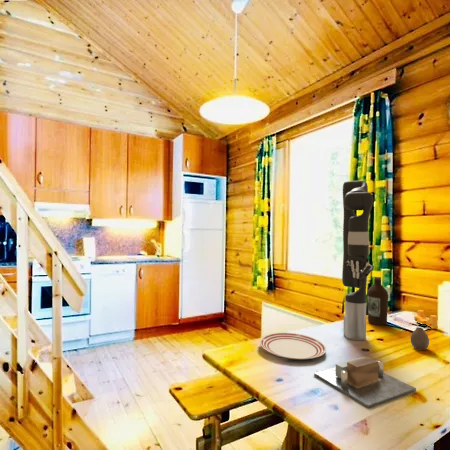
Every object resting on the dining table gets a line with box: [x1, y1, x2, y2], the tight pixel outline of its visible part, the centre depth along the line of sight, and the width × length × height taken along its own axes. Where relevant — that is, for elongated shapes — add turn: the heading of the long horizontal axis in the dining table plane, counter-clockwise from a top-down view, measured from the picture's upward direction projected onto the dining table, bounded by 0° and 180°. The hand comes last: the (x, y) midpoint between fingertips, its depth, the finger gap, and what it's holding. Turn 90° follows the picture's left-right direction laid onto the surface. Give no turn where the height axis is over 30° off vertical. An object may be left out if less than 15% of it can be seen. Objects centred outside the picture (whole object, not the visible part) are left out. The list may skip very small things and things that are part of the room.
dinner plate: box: [259, 332, 327, 361], centre depth 131 cm, size 27×27×3 cm
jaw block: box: [347, 356, 379, 386], centre depth 103 cm, size 4×10×6 cm, turn 115°
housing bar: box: [335, 356, 364, 378], centre depth 107 cm, size 3×13×4 cm, turn 116°
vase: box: [410, 326, 430, 351], centre depth 135 cm, size 7×7×9 cm
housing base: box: [313, 360, 417, 410], centre depth 103 cm, size 22×22×6 cm
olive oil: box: [366, 276, 389, 326], centre depth 172 cm, size 11×11×25 cm
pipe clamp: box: [413, 309, 438, 330], centre depth 168 cm, size 12×4×6 cm, turn 2°
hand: (358, 287), depth 121 cm, fingers closed
